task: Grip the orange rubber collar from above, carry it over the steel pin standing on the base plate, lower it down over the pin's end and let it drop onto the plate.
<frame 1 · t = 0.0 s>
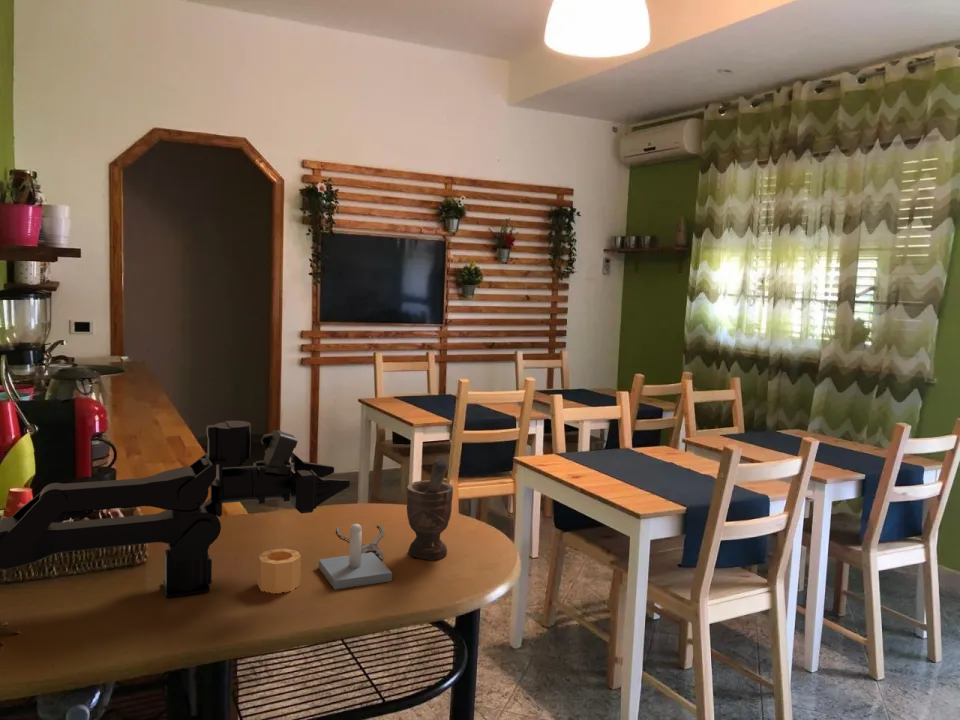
hand: (341, 476, 132), 17 cm above the table, tool horizontal, fingers open, 9 cm apart
pin base: (354, 574, 131), on the table
collar: (279, 584, 125), on the table
mortar and pestle: (432, 557, 141), on the table
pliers: (371, 545, 147), on the table
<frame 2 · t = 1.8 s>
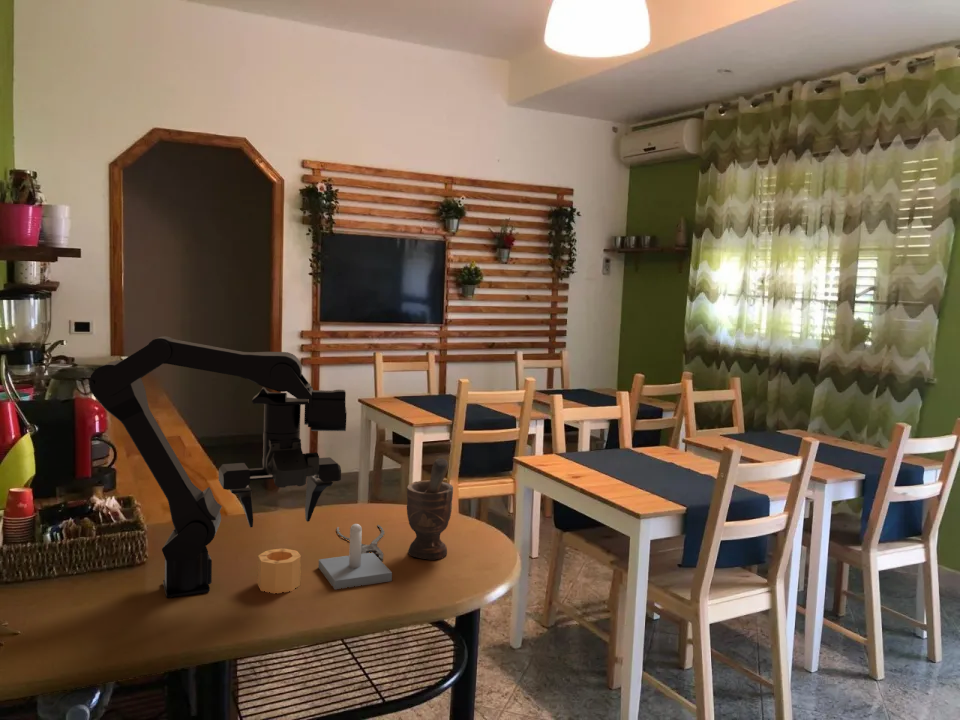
hand: (279, 523, 124), 10 cm above the table, tool pointing down, fingers open, 9 cm apart
nothing on the table moved.
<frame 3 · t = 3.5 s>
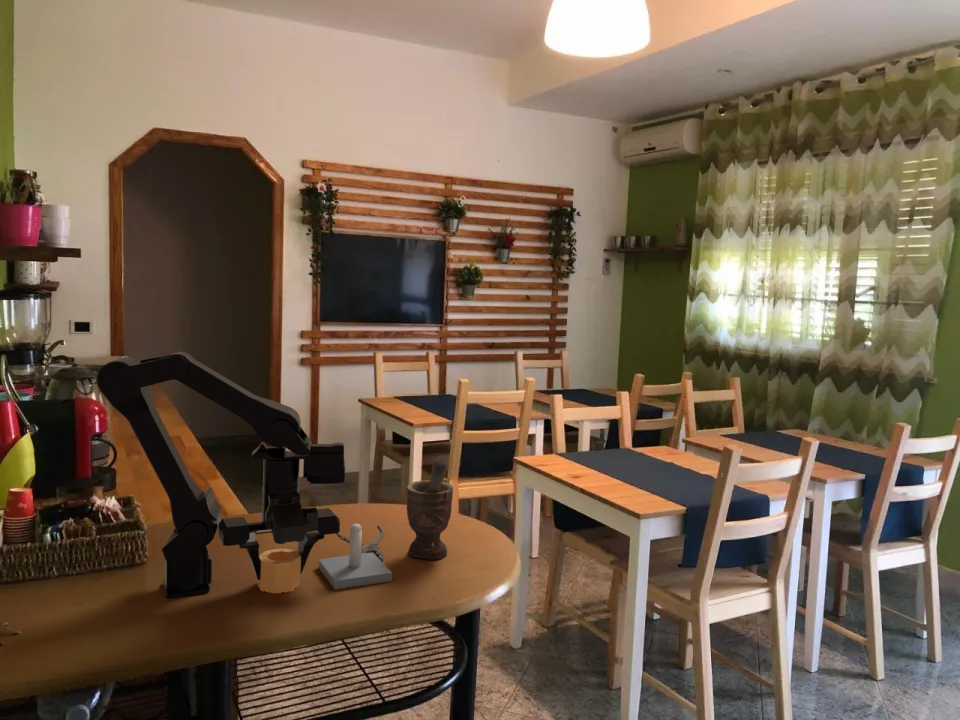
hand: (279, 576, 125), 2 cm above the table, tool pointing down, fingers closed on collar, 6 cm apart
collar: (279, 584, 125), on the table, touching gripper
everything else where it was.
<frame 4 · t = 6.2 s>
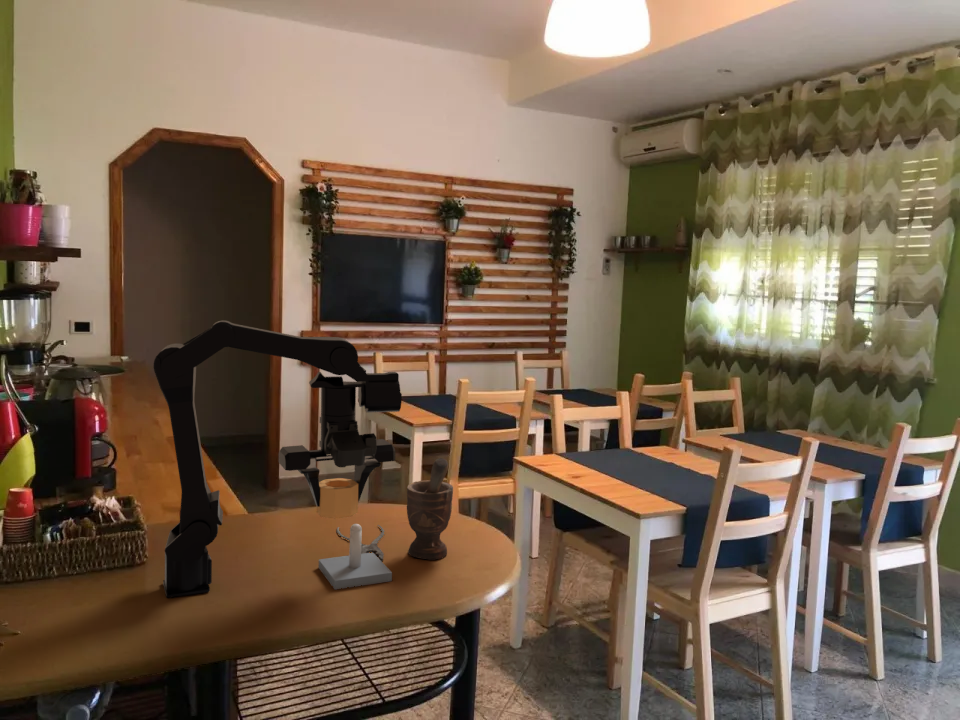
hand: (337, 503, 128), 13 cm above the table, tool pointing down, fingers closed on collar, 6 cm apart
collar: (337, 512, 128), point 11 cm above the table, touching gripper
everything else where it was.
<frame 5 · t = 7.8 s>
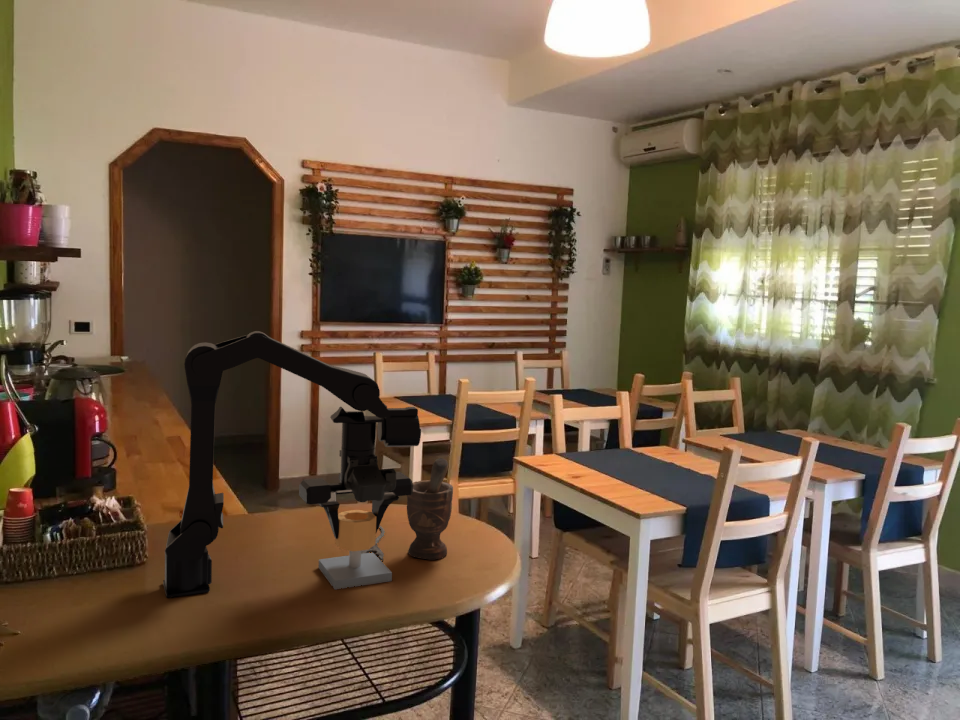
hand: (355, 535, 130), 7 cm above the table, tool pointing down, fingers closed on collar, 6 cm apart
collar: (355, 544, 130), point 5 cm above the table, touching gripper
everything else where it was.
when the fingers open (5 cm above the table, at t = 9.1 s): collar drops 3 cm, resting on pin base.
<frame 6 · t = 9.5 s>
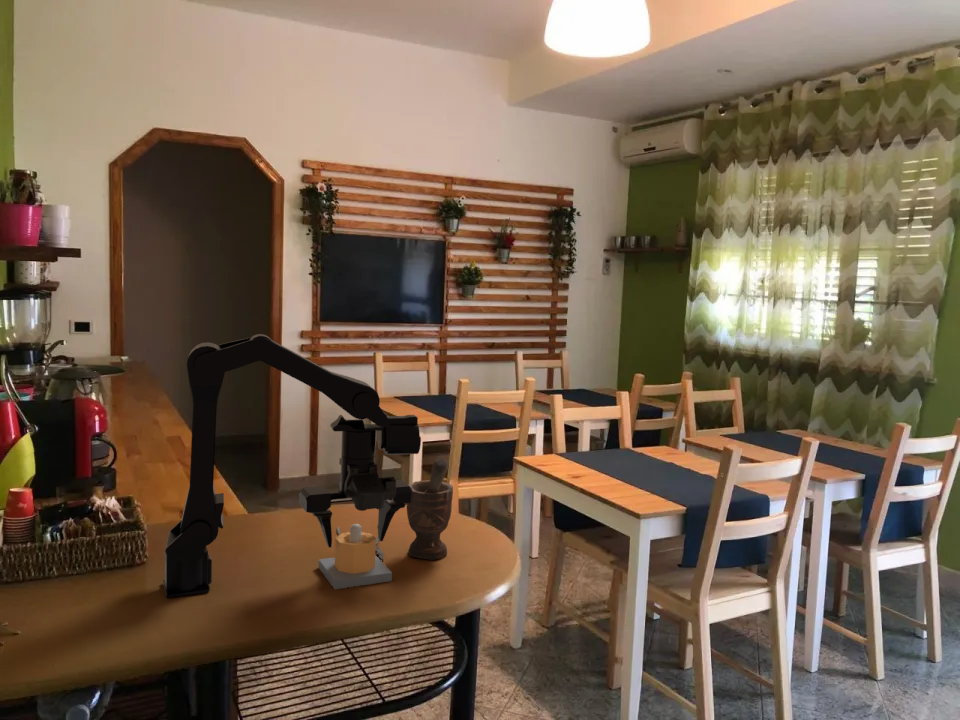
hand: (355, 543, 130), 5 cm above the table, tool pointing down, fingers open, 9 cm apart
collar: (354, 565, 130), point 1 cm above the table, touching pin base
everything else where it was.
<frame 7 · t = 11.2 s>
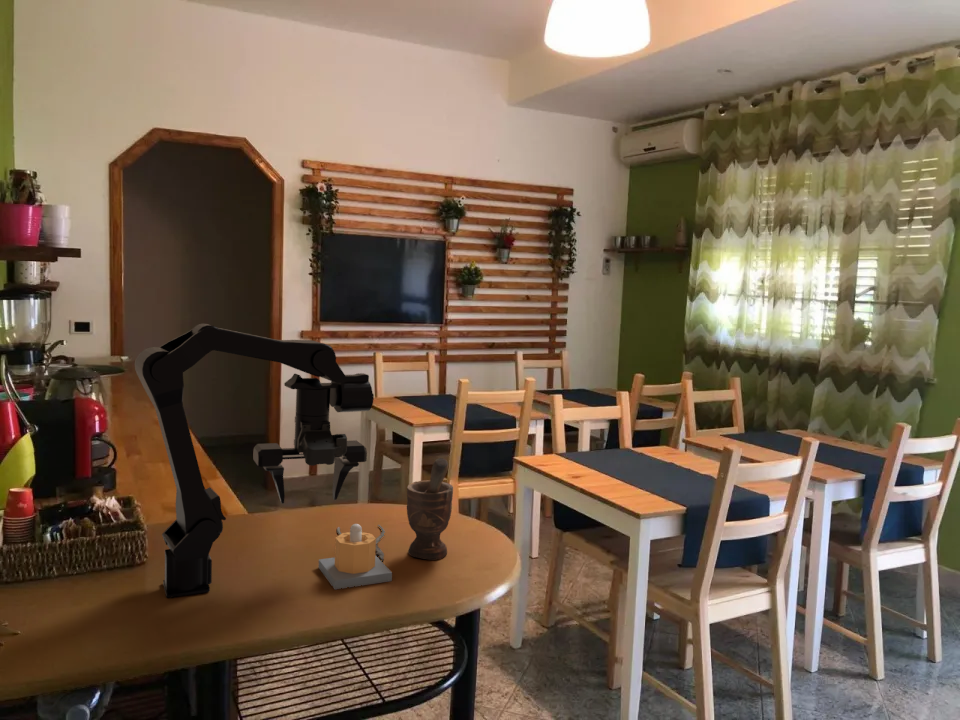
hand: (308, 501, 132), 12 cm above the table, tool pointing down, fingers open, 9 cm apart
nothing on the table moved.
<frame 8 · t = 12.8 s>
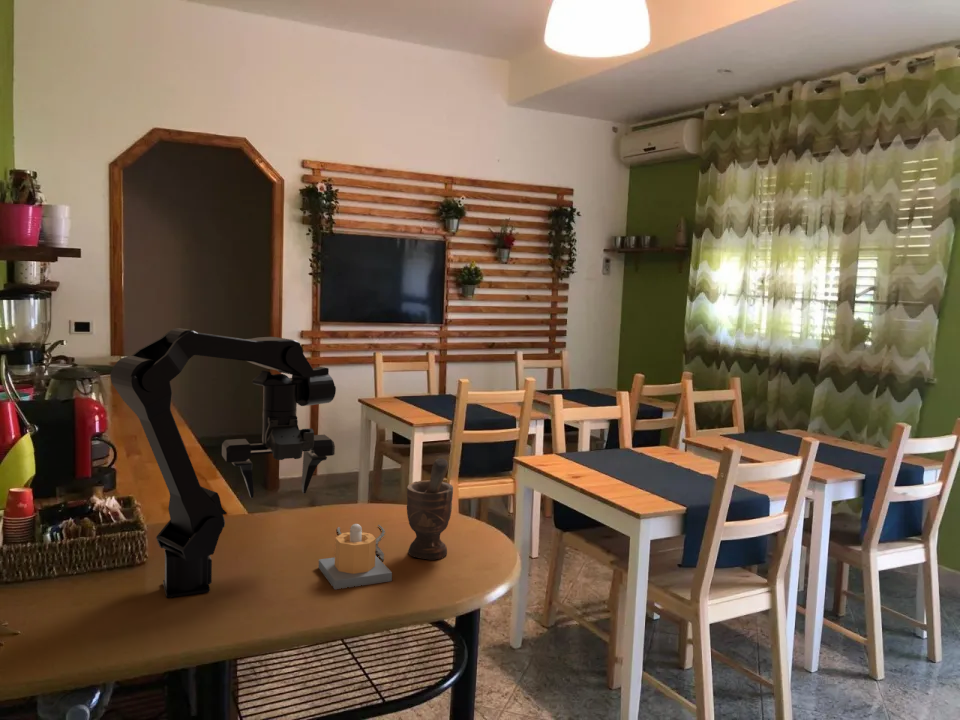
hand: (278, 495, 134), 12 cm above the table, tool pointing down, fingers open, 9 cm apart
nothing on the table moved.
at the end: collar 0.0 cm off-centre on the pin base, point 1.5 cm above the pin base's base; collar tilted 0°; the gripper is holding nothing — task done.
